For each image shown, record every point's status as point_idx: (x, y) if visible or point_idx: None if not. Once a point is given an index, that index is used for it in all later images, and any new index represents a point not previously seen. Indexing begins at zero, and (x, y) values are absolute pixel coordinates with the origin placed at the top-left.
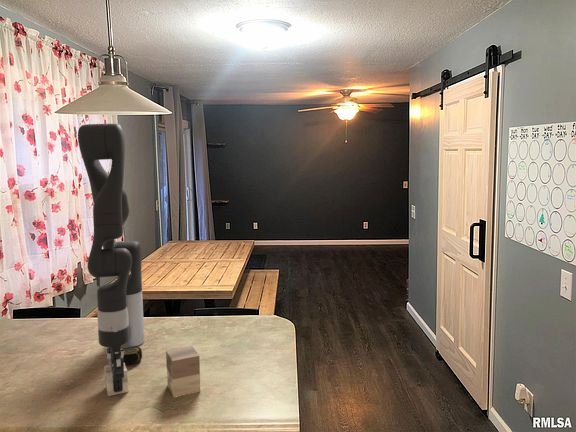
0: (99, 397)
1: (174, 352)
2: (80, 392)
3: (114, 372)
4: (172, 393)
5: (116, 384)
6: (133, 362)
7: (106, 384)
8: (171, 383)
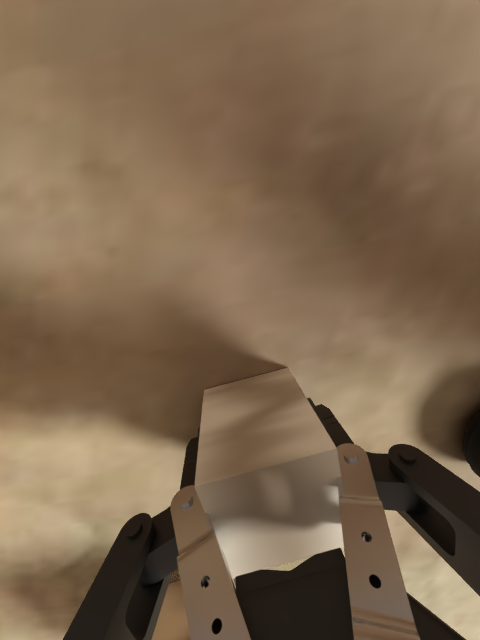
0: (199, 356)
1: None
2: (269, 259)
3: (78, 616)
4: (169, 592)
5: (185, 473)
6: (465, 453)
7: (245, 401)
8: (176, 638)
